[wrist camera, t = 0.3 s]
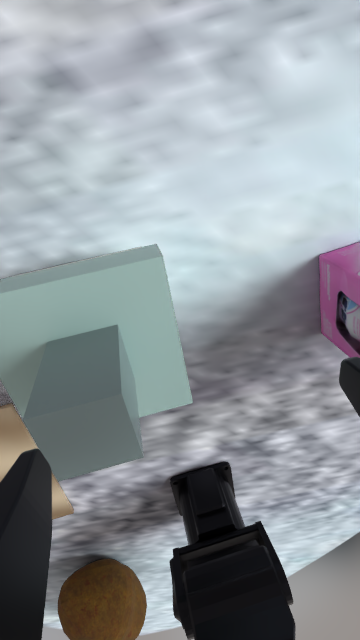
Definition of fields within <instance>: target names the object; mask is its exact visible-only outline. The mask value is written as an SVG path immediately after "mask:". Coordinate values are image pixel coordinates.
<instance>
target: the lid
mask: <svg viewBox="0 0 360 640" xmlns="http://www.w3.org/2000/svg"><path fill="white" fill-rule="evenodd" d="M0 380H1V382H2V384H3V385H4V387H5V389H6V391H7V392H8V394H9V396H10V397H11V399H12V401H13V403H14V404H15V406H16V408H17V410H18V411H19V413H20V415H21V416H22V418H23V422H24V424H25V425H26V427H27V429H28V431H29V432H30V434H31V436H32V437H33V439H34V441H35V443H36V444H37V446H38V448H39V449H40V451H41V452H42V454H43V455H44V457H45V458H46V460H47V461H48V463H49V464H50V467H51V470H52V472H53V474H54V475H55V477H56V479H57V480H58V482H59V481H62V480H66V479H69V478H73V477H76V476H80V475H83V474H87V473H90V472H94V471H97V470H101V469H104V468H108V467H111V466H115V465H118V464H122V463H125V462H129V461H133V460H136V459H140V458H143V457H144V456H143V447H142V439H141V430H140V421H139V417H143V416H146V415H150V414H154V413H157V412H161V411H165V410H168V409H172V408H176V407H179V406H183V405H187V404H190V403H193V400H192V395H191V391H190V386H189V381H188V376H187V371H186V366H185V361H184V357H183V352H182V347H181V342H180V337H179V332H178V327H177V323H176V318H175V313H174V308H173V303H172V298H171V293H170V288H169V284H168V279H167V274H166V269H165V264H164V259H163V255H162V253H161V251H160V249H159V248H158V246H157V244H154V245H150V246H145V247H141V248H136V249H132V250H128V251H123V252H119V253H114V254H110V255H106V256H101V257H97V258H92V259H88V260H84V261H79V262H75V263H70V264H66V265H62V266H57V267H53V268H48V269H44V270H40V271H35V272H31V273H26V274H22V275H18V276H13V277H9V278H4V279H0Z"/></svg>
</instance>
